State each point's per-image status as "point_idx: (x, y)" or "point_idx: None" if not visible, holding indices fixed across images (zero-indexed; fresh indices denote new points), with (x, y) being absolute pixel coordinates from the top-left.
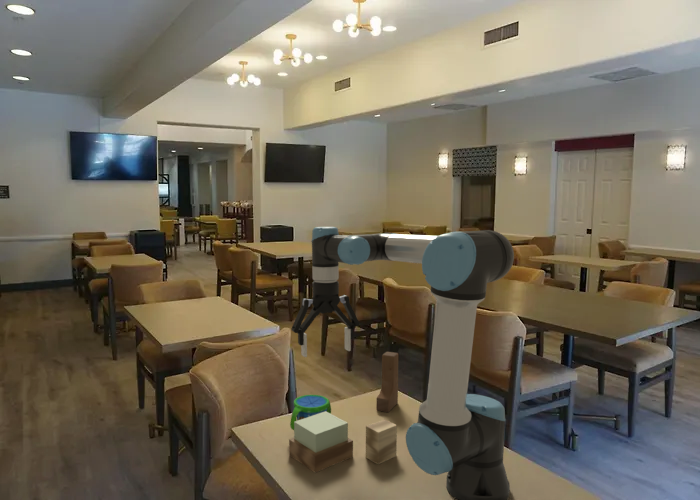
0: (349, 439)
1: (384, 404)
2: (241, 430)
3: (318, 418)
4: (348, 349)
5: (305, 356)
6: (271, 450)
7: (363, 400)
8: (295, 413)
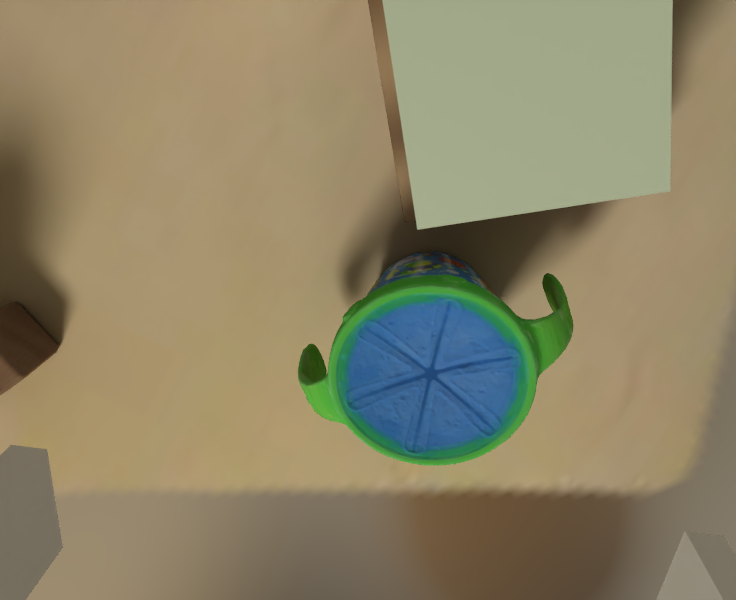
0: (374, 2)
1: (8, 330)
2: (672, 466)
3: (513, 157)
4: (29, 466)
5: (712, 540)
6: (668, 247)
7: (77, 453)
8: (562, 324)
